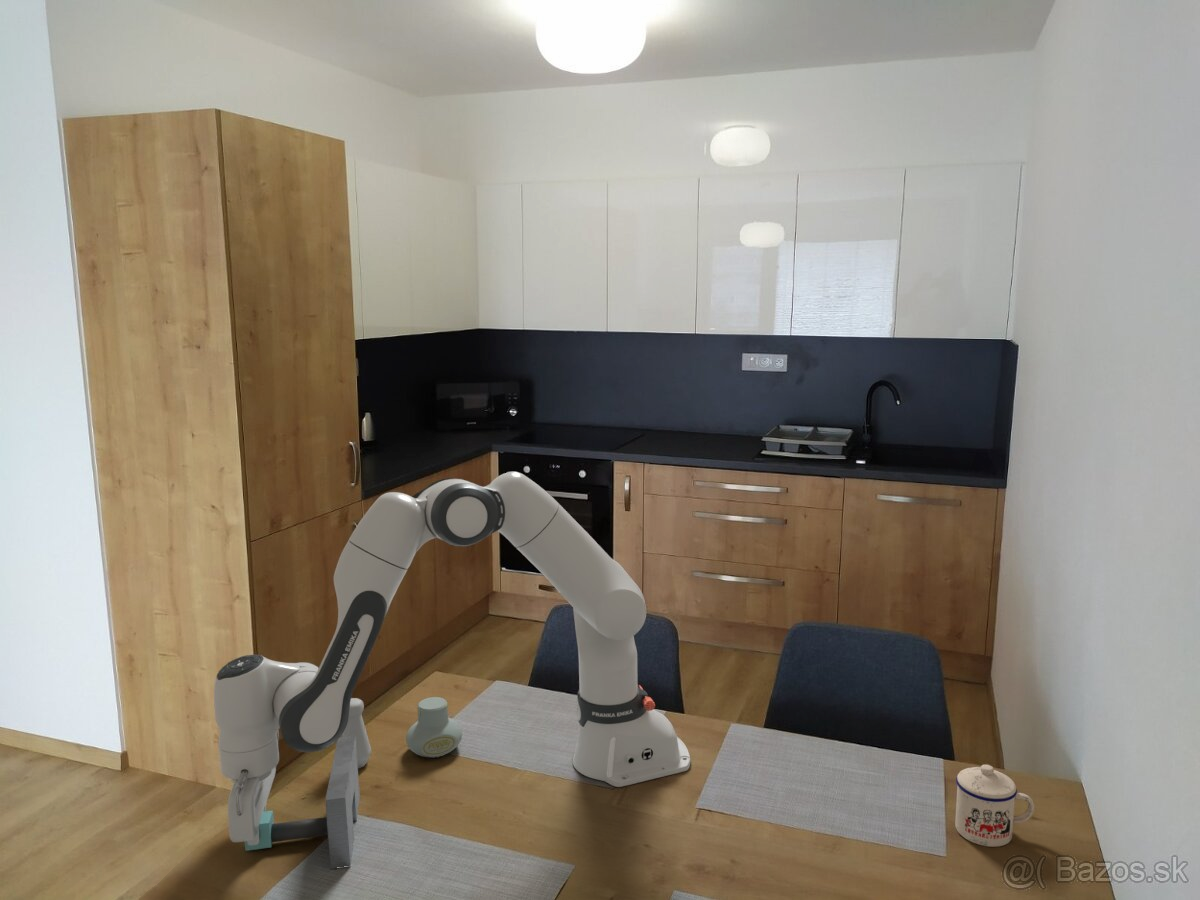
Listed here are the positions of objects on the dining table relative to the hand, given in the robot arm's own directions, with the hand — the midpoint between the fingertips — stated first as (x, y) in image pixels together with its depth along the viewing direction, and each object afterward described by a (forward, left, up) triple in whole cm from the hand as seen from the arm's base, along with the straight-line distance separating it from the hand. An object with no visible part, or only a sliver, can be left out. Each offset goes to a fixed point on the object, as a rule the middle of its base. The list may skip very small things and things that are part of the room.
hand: (257, 833), depth 144 cm
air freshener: (-29, -25, -2) cm, 38 cm away
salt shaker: (-14, -23, -2) cm, 27 cm away
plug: (-5, 0, -2) cm, 5 cm away
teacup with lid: (-119, +23, -2) cm, 121 cm away
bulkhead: (-14, -1, -2) cm, 14 cm away
